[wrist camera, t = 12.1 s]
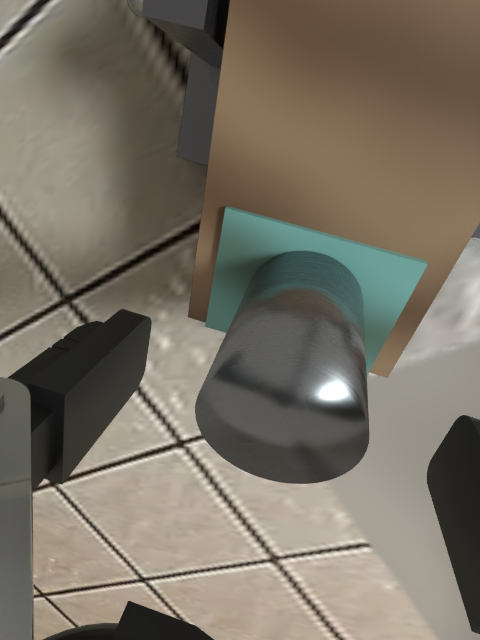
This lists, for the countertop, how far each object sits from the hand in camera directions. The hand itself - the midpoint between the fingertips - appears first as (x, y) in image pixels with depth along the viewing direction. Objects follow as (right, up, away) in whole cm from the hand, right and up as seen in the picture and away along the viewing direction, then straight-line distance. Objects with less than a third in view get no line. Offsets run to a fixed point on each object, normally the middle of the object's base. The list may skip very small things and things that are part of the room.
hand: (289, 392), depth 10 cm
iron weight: (+1, +3, +7) cm, 7 cm away
